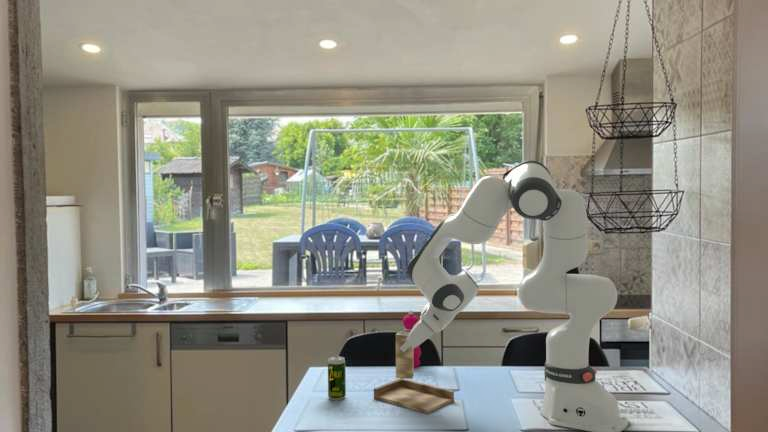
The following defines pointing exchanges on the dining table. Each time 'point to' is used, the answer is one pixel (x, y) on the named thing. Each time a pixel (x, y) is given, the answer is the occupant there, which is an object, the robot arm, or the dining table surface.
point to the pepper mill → (409, 324)
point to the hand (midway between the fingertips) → (402, 347)
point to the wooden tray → (414, 395)
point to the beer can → (336, 378)
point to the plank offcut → (404, 358)
